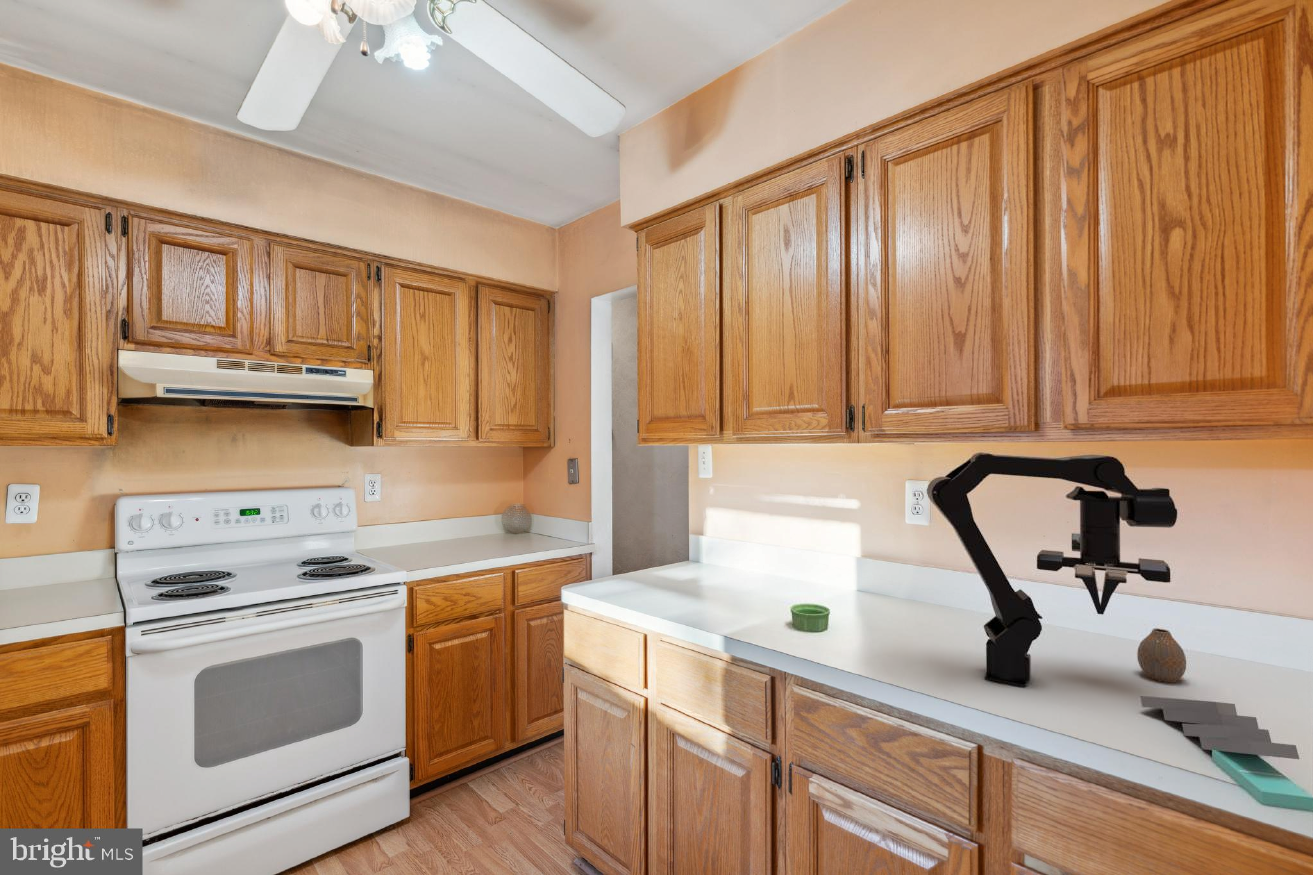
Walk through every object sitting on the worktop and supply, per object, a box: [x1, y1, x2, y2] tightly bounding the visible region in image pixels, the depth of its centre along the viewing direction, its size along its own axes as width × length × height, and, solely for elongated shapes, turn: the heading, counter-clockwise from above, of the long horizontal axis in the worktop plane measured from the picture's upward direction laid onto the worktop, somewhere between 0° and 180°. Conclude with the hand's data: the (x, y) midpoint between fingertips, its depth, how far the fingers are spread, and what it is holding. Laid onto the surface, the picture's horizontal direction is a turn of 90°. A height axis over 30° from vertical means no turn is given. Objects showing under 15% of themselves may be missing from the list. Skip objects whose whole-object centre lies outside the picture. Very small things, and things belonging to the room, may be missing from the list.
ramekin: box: [790, 603, 831, 633], centre depth 142 cm, size 9×9×4 cm
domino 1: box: [1139, 695, 1238, 715], centre depth 94 cm, size 2×5×10 cm
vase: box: [1136, 627, 1187, 683], centre depth 111 cm, size 7×7×9 cm
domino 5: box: [1211, 750, 1313, 812], centre depth 77 cm, size 2×5×10 cm
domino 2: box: [1162, 709, 1260, 729], centre depth 89 cm, size 2×5×10 cm
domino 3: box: [1181, 723, 1273, 743], centre depth 85 cm, size 2×5×10 cm
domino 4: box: [1198, 737, 1300, 760], centre depth 81 cm, size 2×5×10 cm
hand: (1100, 613), depth 107 cm, fingers closed
